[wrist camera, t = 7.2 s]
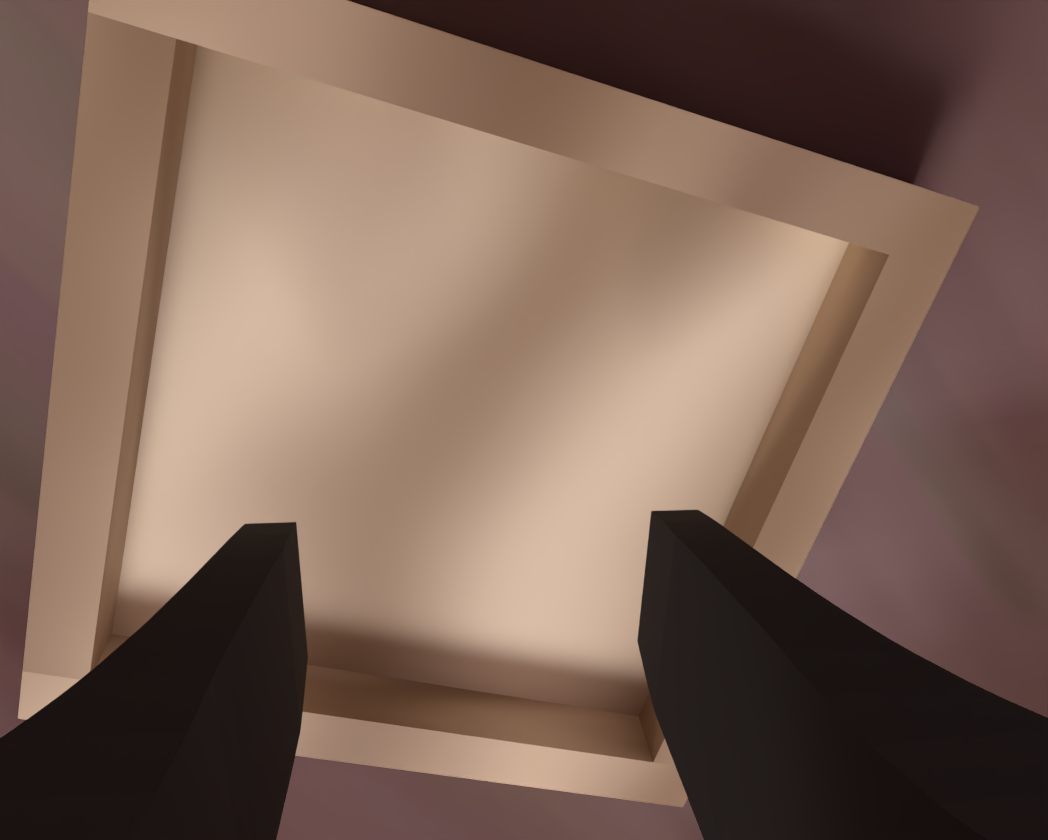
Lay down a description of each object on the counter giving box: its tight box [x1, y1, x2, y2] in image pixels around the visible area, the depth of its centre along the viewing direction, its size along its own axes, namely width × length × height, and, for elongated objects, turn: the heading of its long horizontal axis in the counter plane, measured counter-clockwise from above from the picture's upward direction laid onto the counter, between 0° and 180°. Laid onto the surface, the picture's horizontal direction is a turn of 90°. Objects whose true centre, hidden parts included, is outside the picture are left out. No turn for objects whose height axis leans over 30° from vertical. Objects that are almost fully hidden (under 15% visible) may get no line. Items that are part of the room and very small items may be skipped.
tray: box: [18, 0, 979, 807], centre depth 14 cm, size 12×12×2 cm
